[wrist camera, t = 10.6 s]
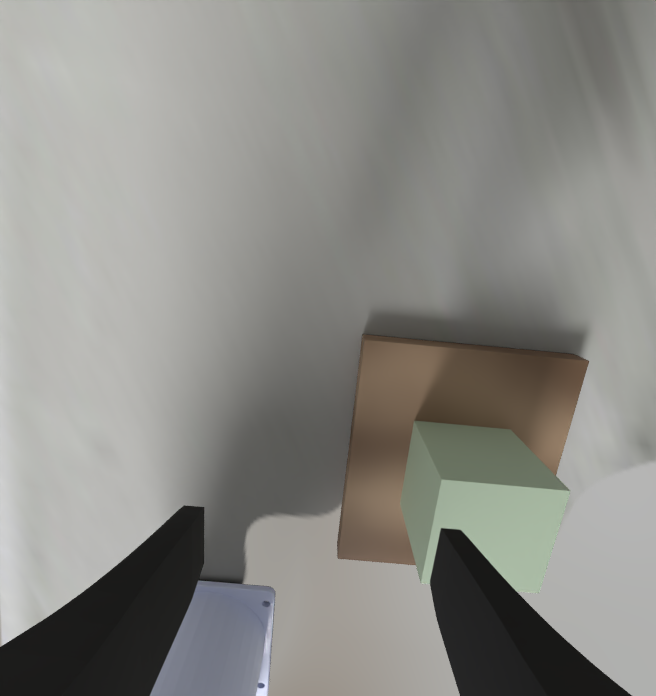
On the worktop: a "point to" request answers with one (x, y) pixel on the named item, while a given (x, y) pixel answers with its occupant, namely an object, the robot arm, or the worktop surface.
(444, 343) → the cutting board
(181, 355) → the worktop surface
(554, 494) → the green cube
